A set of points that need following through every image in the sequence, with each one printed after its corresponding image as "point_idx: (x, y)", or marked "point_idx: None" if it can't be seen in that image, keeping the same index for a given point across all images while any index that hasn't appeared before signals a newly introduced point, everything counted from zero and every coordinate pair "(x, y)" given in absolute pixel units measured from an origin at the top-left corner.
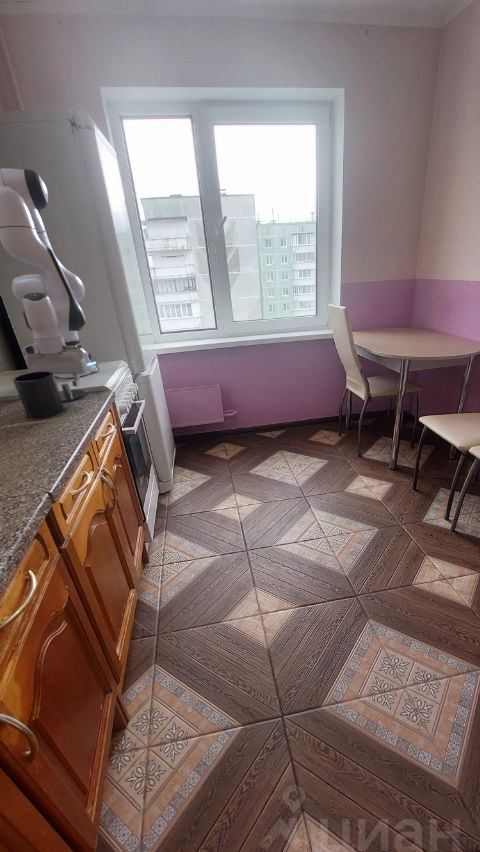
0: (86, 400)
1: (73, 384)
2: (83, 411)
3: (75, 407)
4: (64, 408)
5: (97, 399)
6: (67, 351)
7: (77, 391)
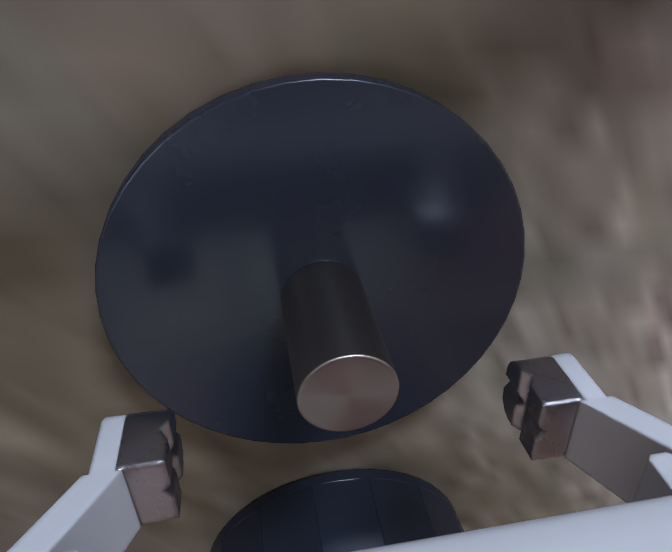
0: (545, 308)
1: (521, 425)
2: (593, 484)
3: (504, 445)
4: (453, 510)
5: (649, 273)
6: None
7: (375, 163)
